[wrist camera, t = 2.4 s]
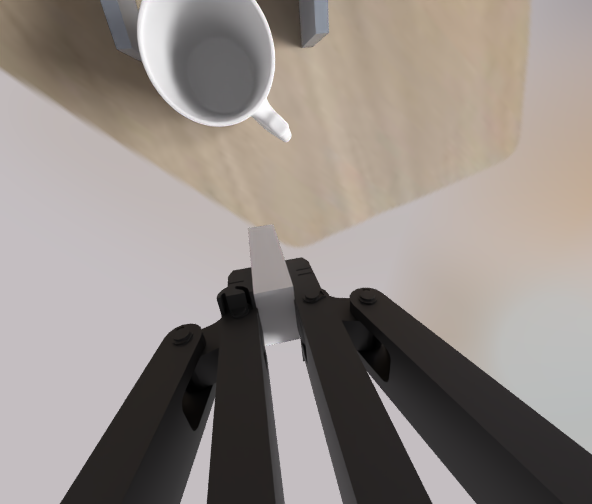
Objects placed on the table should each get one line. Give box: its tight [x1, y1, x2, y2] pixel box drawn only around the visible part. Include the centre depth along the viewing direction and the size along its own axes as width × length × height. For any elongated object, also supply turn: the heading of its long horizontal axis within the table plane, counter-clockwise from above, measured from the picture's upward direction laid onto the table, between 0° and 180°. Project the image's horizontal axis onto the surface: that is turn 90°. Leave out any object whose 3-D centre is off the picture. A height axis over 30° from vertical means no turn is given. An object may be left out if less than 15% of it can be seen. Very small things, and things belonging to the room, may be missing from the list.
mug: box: [137, 0, 291, 142], centre depth 20 cm, size 10×7×12 cm, turn 46°
